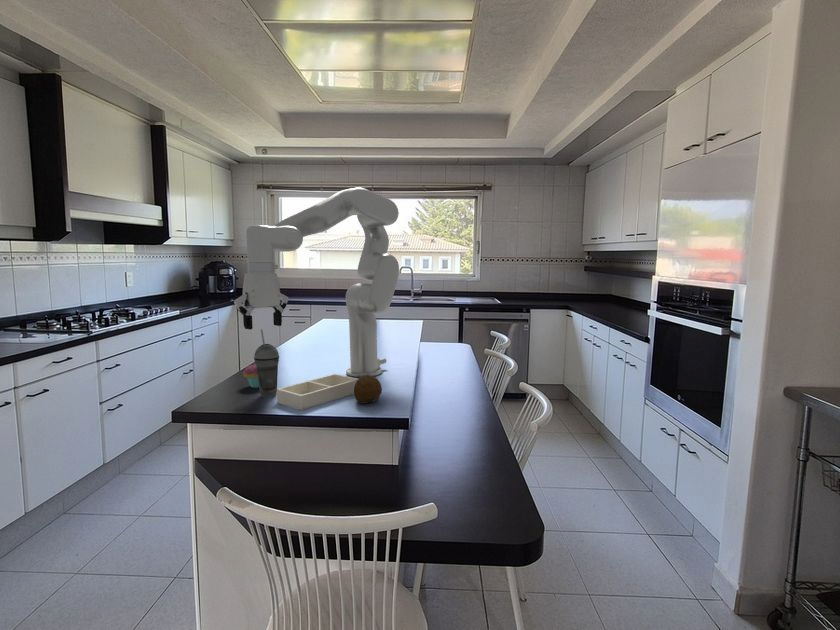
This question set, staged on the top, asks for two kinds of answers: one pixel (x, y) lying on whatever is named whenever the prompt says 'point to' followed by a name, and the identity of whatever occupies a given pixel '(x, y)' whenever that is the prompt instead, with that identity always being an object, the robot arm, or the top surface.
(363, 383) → the potato
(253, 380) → the cupcake
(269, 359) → the beverage cup
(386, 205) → the robot arm
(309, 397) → the cup carrier
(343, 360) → the top surface
